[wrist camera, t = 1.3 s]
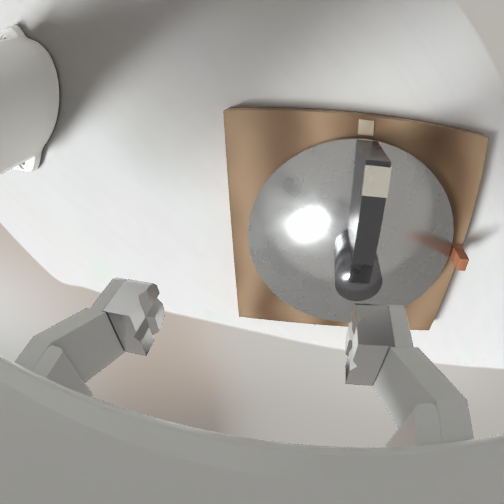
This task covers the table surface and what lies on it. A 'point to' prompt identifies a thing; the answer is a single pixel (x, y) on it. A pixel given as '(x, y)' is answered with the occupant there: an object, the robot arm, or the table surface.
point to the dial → (350, 228)
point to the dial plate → (334, 127)
